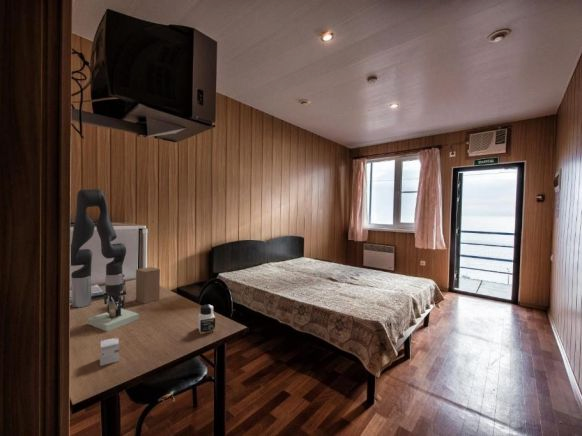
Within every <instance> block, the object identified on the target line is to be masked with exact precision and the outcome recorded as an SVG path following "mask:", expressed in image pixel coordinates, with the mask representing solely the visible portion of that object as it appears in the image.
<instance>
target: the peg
mask: <svg viewBox="0 0 582 436" xmlns="http://www.w3.org/2000/svg"><path fill="white" fill-rule="evenodd" d="M116 303H117V302H116ZM117 306H118V304H117ZM109 317H110V319H114V318H116V317H118V316H116V307H115V305H114V304H113V302H110V303H109Z"/></svg>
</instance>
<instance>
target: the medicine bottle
mask: <svg viewBox="0 0 582 436" xmlns="http://www.w3.org/2000/svg"><path fill="white" fill-rule="evenodd" d="M197 317H198V318H197V321H198V322H197V328H198V330H199V331H198V332H199V333H200V335H201V334H206V333H212V331H213V332H216V316H215V314H214V306H213V305H211V304H204V305H201V307H200V313H199V314H198V316H197Z"/></svg>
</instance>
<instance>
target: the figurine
mask: <svg viewBox="0 0 582 436" xmlns="http://www.w3.org/2000/svg"><path fill="white" fill-rule="evenodd" d="M122 275H123V278H124V277H125V275H124V274H123V273H122ZM126 285H127V284H126V280H125V279H123V290H122V293H123V295H127V287H126Z"/></svg>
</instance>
